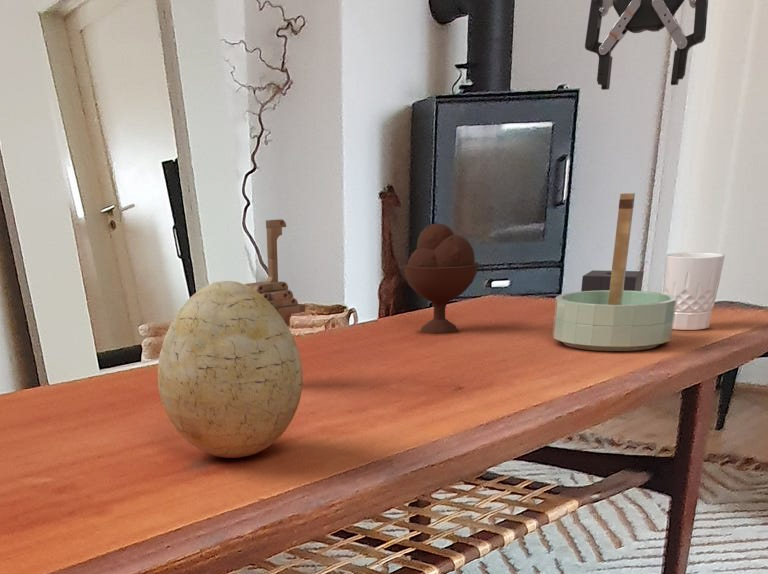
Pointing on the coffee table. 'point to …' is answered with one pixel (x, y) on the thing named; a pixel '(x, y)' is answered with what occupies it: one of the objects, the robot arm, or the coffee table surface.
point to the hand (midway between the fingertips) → (639, 87)
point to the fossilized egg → (229, 371)
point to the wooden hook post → (276, 277)
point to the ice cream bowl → (440, 271)
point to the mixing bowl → (614, 320)
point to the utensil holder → (603, 278)
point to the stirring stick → (621, 248)
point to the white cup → (693, 287)
